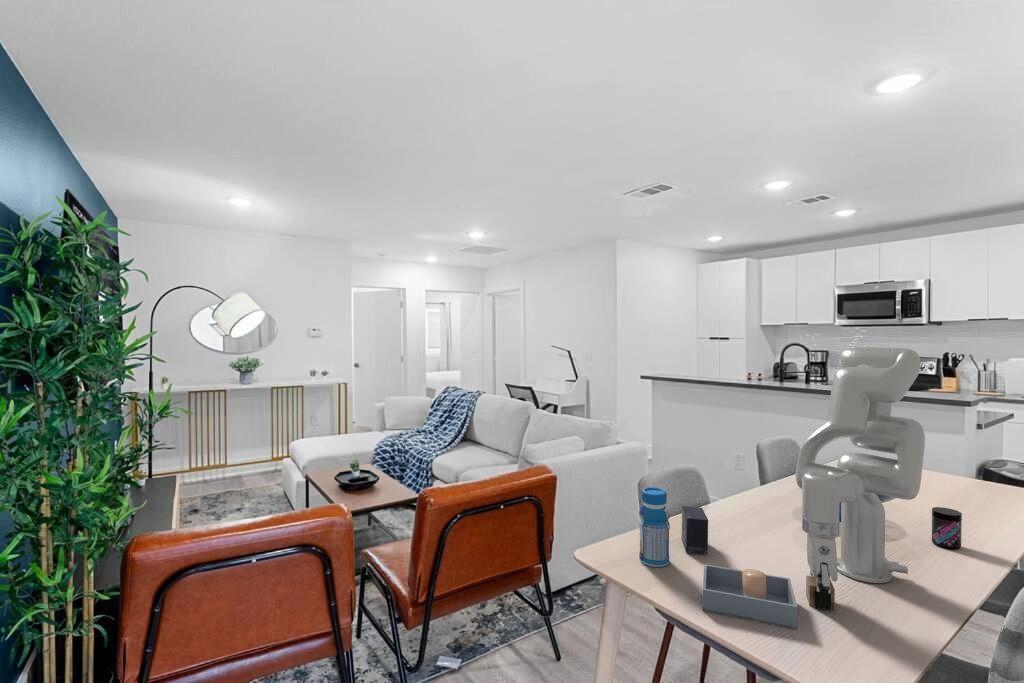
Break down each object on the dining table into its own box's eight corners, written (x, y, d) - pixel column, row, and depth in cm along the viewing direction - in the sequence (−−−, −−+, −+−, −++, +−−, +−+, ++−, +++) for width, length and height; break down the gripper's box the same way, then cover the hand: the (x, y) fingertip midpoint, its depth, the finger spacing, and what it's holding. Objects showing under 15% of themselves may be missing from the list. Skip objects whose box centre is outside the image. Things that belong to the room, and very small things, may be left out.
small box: (709, 555, 142) (709, 519, 142) (685, 553, 143) (685, 518, 143) (702, 540, 153) (702, 506, 152) (680, 538, 154) (680, 505, 154)
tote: (789, 598, 119) (789, 578, 119) (797, 629, 107) (797, 607, 107) (704, 583, 127) (704, 564, 126) (702, 610, 114) (702, 589, 114)
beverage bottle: (652, 570, 133) (652, 497, 133) (632, 557, 141) (632, 488, 141) (676, 564, 137) (676, 492, 137) (655, 552, 145) (655, 484, 144)
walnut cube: (830, 599, 119) (830, 579, 119) (834, 610, 114) (834, 589, 114) (806, 595, 121) (806, 575, 120) (809, 606, 116) (809, 585, 116)
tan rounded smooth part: (766, 611, 113) (765, 581, 113) (742, 606, 115) (741, 576, 115) (766, 600, 117) (766, 571, 117) (743, 596, 119) (742, 567, 119)
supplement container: (925, 542, 149) (926, 508, 149) (941, 539, 151) (941, 505, 151) (951, 552, 143) (952, 516, 142) (967, 548, 145) (967, 513, 144)
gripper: (847, 542, 107) (847, 624, 108) (831, 515, 123) (831, 586, 124) (807, 537, 110) (807, 617, 111) (797, 511, 126) (796, 580, 127)
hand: (819, 600), depth 117 cm, fingers open, 5 cm apart
